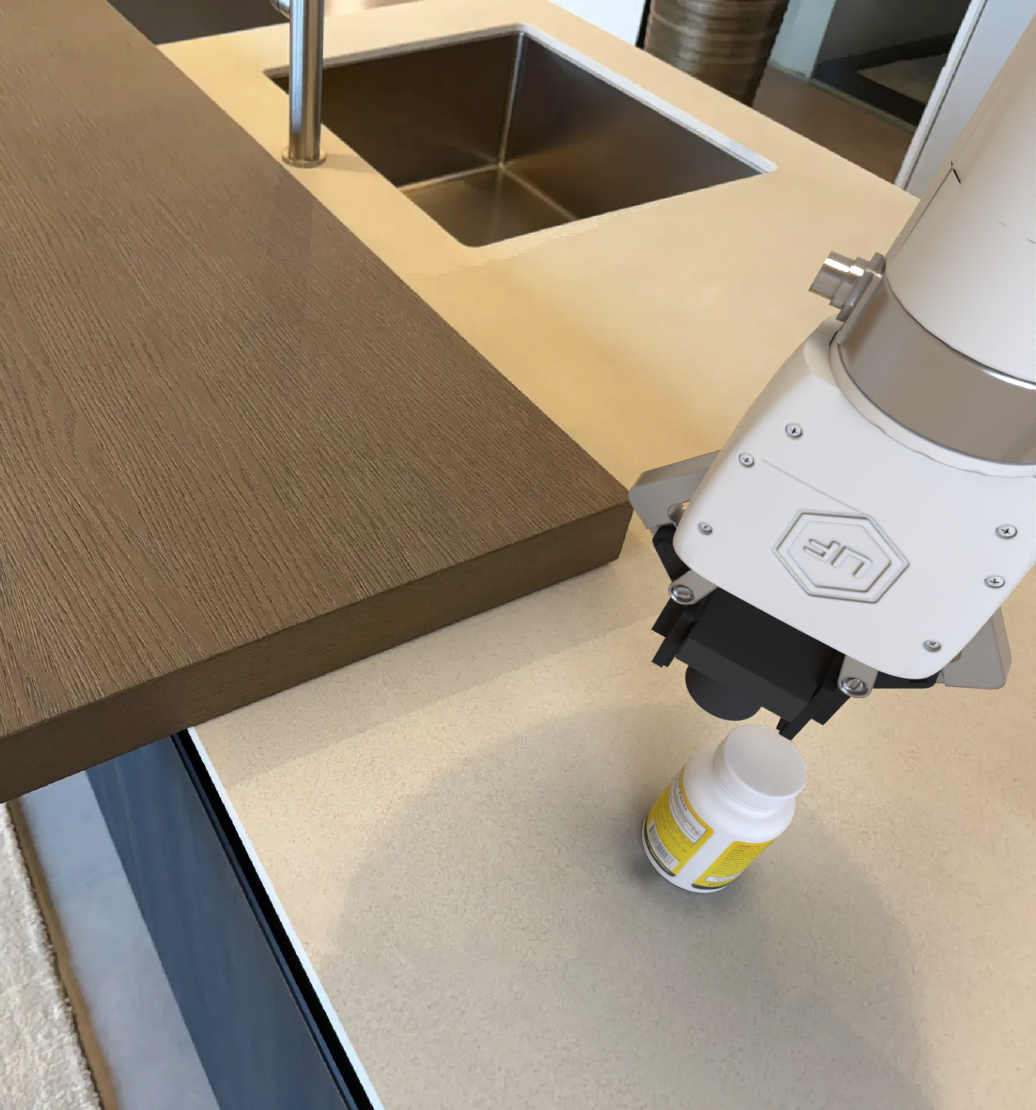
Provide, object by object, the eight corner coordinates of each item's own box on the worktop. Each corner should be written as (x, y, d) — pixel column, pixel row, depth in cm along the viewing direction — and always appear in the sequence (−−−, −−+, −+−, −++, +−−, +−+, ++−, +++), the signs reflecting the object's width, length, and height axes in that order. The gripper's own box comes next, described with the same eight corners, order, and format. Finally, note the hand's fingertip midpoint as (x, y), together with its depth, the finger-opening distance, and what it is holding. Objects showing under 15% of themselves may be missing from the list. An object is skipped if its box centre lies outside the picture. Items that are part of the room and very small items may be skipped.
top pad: (794, 679, 47) (844, 621, 43) (758, 759, 44) (808, 704, 41) (690, 622, 48) (730, 562, 45) (648, 696, 46) (688, 637, 42)
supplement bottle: (749, 833, 58) (835, 746, 50) (722, 914, 55) (810, 836, 47) (656, 783, 59) (727, 692, 52) (624, 860, 56) (695, 775, 49)
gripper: (670, 295, 32) (518, 633, 46) (1284, 571, 27) (902, 857, 41) (750, 194, 36) (589, 532, 50) (1295, 416, 31) (945, 724, 45)
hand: (731, 676), depth 45 cm, fingers closed on top pad, 5 cm apart
